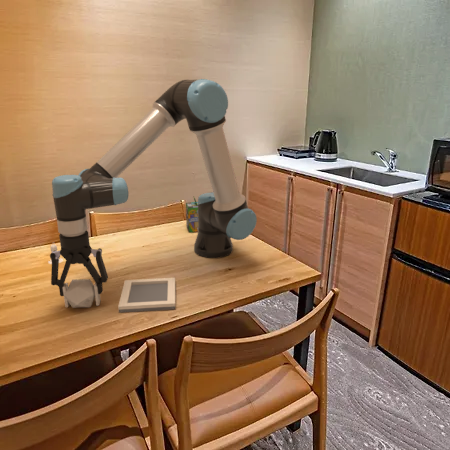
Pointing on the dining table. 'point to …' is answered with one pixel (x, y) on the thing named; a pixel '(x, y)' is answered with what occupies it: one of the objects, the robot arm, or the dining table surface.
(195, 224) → the chalk box
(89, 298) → the die
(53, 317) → the dining table surface
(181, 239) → the dining table surface
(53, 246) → the toy figurine
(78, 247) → the robot arm
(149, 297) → the pocket plate
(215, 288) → the dining table surface
